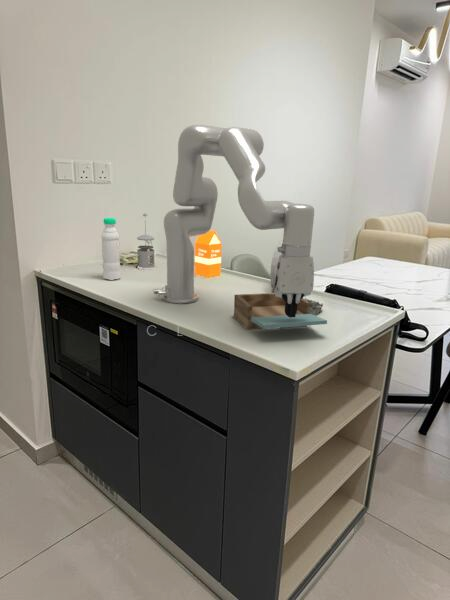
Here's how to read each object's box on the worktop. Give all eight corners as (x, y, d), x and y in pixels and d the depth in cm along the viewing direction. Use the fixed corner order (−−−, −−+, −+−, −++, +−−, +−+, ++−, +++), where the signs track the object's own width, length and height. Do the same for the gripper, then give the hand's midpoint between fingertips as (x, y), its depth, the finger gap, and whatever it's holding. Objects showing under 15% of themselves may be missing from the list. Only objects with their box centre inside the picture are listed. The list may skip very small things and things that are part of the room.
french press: (132, 268, 205) (130, 213, 198) (141, 263, 216) (139, 211, 209) (152, 270, 203) (152, 214, 196) (160, 265, 214) (160, 212, 207)
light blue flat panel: (250, 323, 128) (263, 331, 119) (250, 317, 128) (263, 324, 119) (310, 319, 134) (326, 327, 124) (310, 313, 133) (327, 320, 124)
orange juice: (207, 272, 202) (208, 228, 196) (220, 276, 196) (222, 230, 190) (194, 275, 196) (194, 229, 191) (208, 278, 190) (209, 231, 185)
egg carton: (311, 319, 142) (312, 307, 141) (290, 315, 146) (291, 303, 145) (324, 311, 150) (325, 300, 149) (304, 307, 154) (305, 296, 153)
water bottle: (124, 278, 185) (122, 218, 179) (111, 281, 180) (109, 219, 173) (112, 276, 189) (109, 216, 182) (99, 279, 183) (96, 217, 176)
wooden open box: (247, 329, 130) (248, 306, 128) (233, 315, 142) (234, 294, 140) (308, 325, 136) (310, 303, 134) (291, 312, 148) (292, 291, 146)
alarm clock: (286, 281, 189) (289, 235, 184) (303, 284, 186) (307, 237, 181) (269, 292, 171) (272, 241, 165) (287, 295, 168) (291, 243, 162)
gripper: (275, 254, 113) (270, 321, 119) (328, 253, 118) (320, 318, 123) (265, 248, 120) (260, 313, 125) (314, 248, 124) (308, 310, 130)
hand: (290, 315), depth 124 cm, fingers closed
